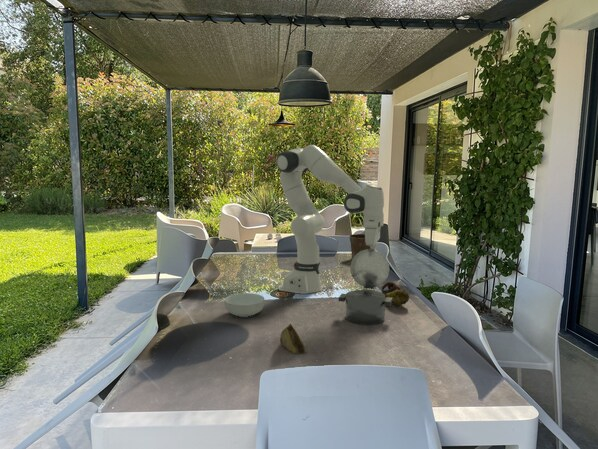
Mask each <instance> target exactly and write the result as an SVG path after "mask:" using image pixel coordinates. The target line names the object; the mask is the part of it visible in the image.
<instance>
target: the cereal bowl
mask: <svg viewBox="0 0 598 449" xmlns="http://www.w3.org/2000/svg"><path fill="white" fill-rule="evenodd" d="M224 306H225V309H226V311H227V312H229V313H230V314H232V315H235V317H238V316H239V318H249V317H248V316H250V317H252V316H254V315H256V314H258V313H260V312H261V311H262V310H263V309H264V306H265V297H264V296H262V295H260V294H257V293H250V292H242V293H234V294H230V295H228V296H226V297H225V298H224ZM251 315H252V316H251Z"/></svg>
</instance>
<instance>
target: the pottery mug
mask: <svg viewBox="0 0 598 449" xmlns="http://www.w3.org/2000/svg"><path fill="white" fill-rule="evenodd" d="M386 287H387V288H388V289H385V288H386ZM395 290H402V288H401V287H400V286H399V284H396V283H395V282H394V281H388V282H386V283H384V284H383V285H381V293H383V294H384V295H386V294H387V293H390V292H393V291H395Z"/></svg>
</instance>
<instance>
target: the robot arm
mask: <svg viewBox="0 0 598 449" xmlns="http://www.w3.org/2000/svg"><path fill="white" fill-rule="evenodd" d="M275 159H276V160H275V161H276V166H277V169H278V170H279V171H280V172H279V173H280V174H279V179H280V184H281V187H282V191H283V193H284V194H283V195H285V200H286V202H287V204H288V207H289V208H290V209H291V210H293V212H294V213H295V215H296V217H295V218H294V219H293V220H292V221H291V224H290V230H291V232H292V234H293V235H294V238H295V242H296V249H297V252H296V253H297V260H296V261H295V262H294V263H293V266H292V267H293V269H292V270H290V272H288V273H287V274H286V275H285V276H283V281H282V283H281V284H279V285H278V291H281V292H287V293H288V292H289V293H294V294H301V295H307V294H311V293H312V294H313V293H318V292H321V291H323V287H322V282H321V262H320V247H319V244H318V242H317V237H316V234H318V233H319V232H321V230H322V229H323V228H324V226H325V223H326V222H325V218H324V216H323V215H322V214H321V213H320V212H319V211H318V210H317V208H316V206H315V205H314V203H313V202H312V200H311V197H310V195H309V193H308V191H307V187H306V185H305V183H304V181H303V177H302V174H303V173H307V171H308V170H309V172H310V173H311V174H312V175H313V176H314V177H315V178H316V179H317V180H319V181H321V182H322V183H323V182H324V183H327V184H328V183H329V184H333V185H335V186H338V187H341V188H342V189H343V190H344V191H345V192H346V193H347V194H346V195H345V197H344V198H343V207H344V209H345V210H346V212H348V213H350V214H361V213H363V225H362V226H363V227H362V228H364V234H365V242H366V245H368V246H370V248H371V249H373V250H377V249H376V248H377V243H378V241H379V240H380V238H381V227H383V226H384V225H385V224H384V218H385V216H384V215H385V214H384V206H385V198H384V191H383V188H382V187H381V186H378V185H374V184H367V185H365V186H364V187H362V186H361V185H360V184H358V183H357V182H356V181H355V180H354V179H353V178H352V177H351V176H350V175H348V174H347V173H346V172H345V171H344V170H343V169H341V168H340V167H339V166H338V165H337V164H336V162H334V161H333V160H332V158H330V156H328V155H327V153H326V152H324V151H323V150H322V149H320V147H318V146H316V145H314V144H309V145H307V146H305V147H297V148H293V149H289V150H284V151H281V152H280V153H278V154H277V156H276V158H275Z"/></svg>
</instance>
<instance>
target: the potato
mask: <svg viewBox="0 0 598 449" xmlns="http://www.w3.org/2000/svg"><path fill="white" fill-rule="evenodd" d="M386 297H390V298H392V303H391V305H395V306H401V305H406V304H407V303H408V302H409V300H410V295H409V293H408V292H407V291H406V290H403V289H401V290H395V291H393V292H390V293H387V294H386V295H385V299H386Z"/></svg>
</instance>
